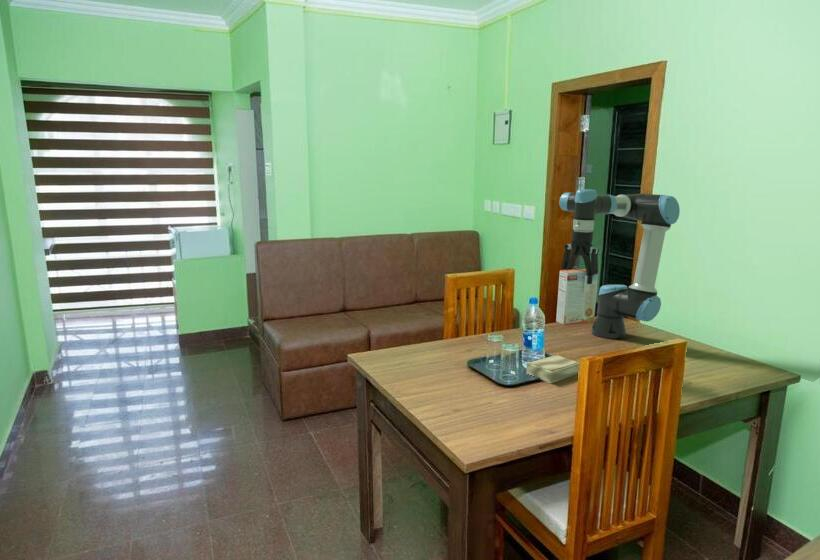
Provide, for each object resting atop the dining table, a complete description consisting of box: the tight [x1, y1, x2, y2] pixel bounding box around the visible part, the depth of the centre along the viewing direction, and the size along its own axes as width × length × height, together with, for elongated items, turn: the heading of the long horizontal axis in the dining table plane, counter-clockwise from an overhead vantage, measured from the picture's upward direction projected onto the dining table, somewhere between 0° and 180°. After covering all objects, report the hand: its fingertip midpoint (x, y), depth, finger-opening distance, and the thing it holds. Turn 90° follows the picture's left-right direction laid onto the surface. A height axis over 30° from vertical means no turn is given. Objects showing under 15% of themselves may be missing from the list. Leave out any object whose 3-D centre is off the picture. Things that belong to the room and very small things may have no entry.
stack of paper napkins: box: [525, 354, 580, 384], centre depth 199 cm, size 11×17×4 cm, turn 128°
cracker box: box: [555, 268, 599, 327], centre depth 211 cm, size 14×6×21 cm, turn 109°
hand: (577, 289), depth 210 cm, fingers closed on cracker box, 7 cm apart
